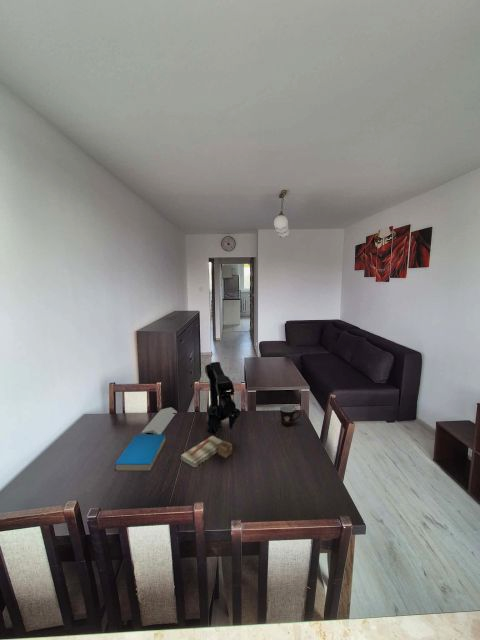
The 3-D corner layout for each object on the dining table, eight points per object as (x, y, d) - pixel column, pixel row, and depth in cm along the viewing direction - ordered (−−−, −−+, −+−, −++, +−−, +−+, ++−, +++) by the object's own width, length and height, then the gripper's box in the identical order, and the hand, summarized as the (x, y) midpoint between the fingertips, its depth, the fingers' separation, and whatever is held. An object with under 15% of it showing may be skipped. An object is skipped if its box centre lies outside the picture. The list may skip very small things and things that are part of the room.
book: (165, 434, 153) (150, 463, 129) (166, 441, 154) (151, 471, 129) (134, 434, 154) (114, 463, 129) (135, 441, 154) (114, 471, 129)
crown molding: (159, 411, 189) (159, 406, 188) (177, 412, 188) (177, 407, 187) (140, 435, 160) (139, 429, 160) (160, 436, 159) (160, 430, 159)
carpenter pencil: (207, 440, 149) (207, 439, 148) (209, 441, 148) (209, 440, 148) (190, 454, 137) (190, 453, 137) (191, 455, 136) (191, 454, 136)
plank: (212, 439, 154) (212, 435, 153) (225, 446, 148) (225, 441, 147) (181, 459, 137) (180, 455, 136) (194, 467, 131) (194, 463, 130)
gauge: (224, 449, 145) (224, 439, 144) (232, 453, 142) (232, 442, 141) (218, 454, 141) (218, 443, 140) (225, 458, 138) (225, 447, 137)
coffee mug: (277, 425, 169) (277, 409, 167) (283, 419, 176) (283, 404, 174) (295, 430, 162) (295, 414, 161) (300, 424, 169) (301, 409, 168)
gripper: (224, 393, 150) (225, 420, 152) (199, 406, 135) (200, 435, 138) (240, 399, 143) (241, 427, 145) (215, 412, 128) (216, 443, 131)
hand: (224, 433), depth 140 cm, fingers open, 9 cm apart
